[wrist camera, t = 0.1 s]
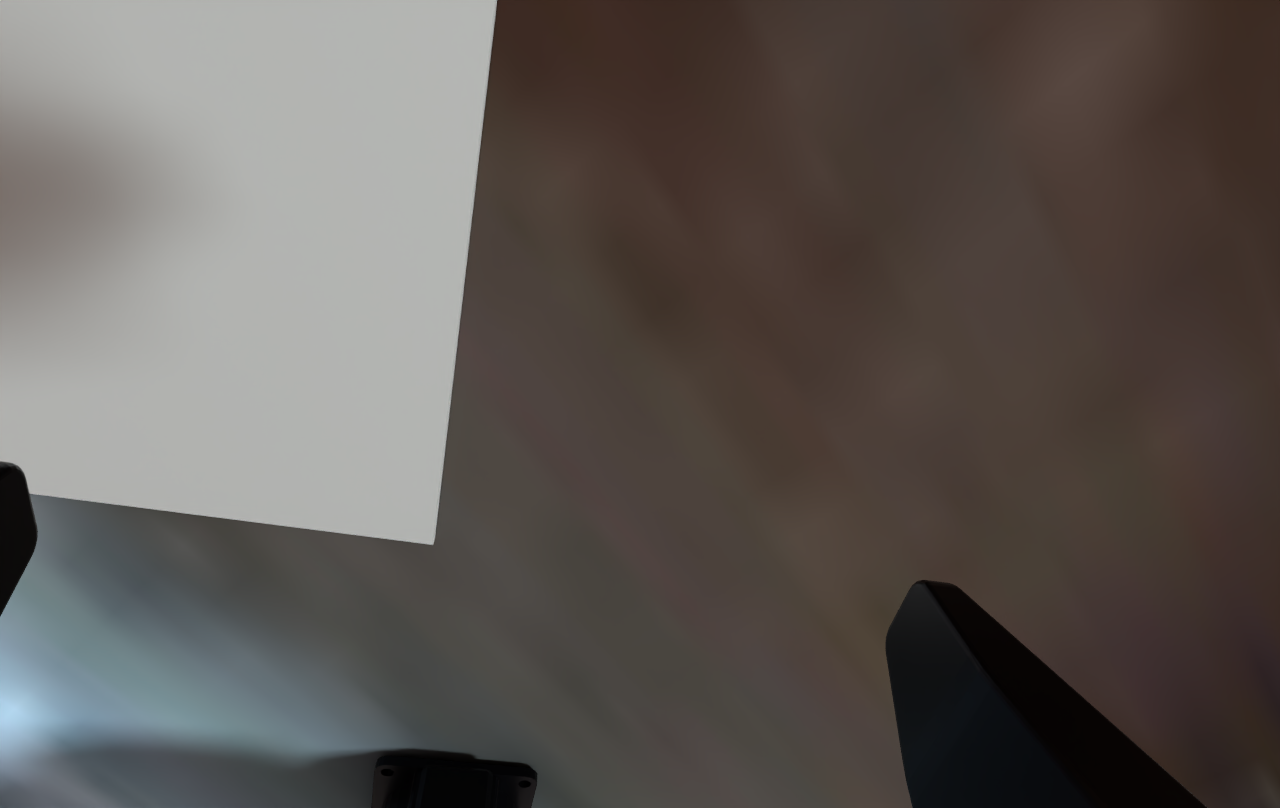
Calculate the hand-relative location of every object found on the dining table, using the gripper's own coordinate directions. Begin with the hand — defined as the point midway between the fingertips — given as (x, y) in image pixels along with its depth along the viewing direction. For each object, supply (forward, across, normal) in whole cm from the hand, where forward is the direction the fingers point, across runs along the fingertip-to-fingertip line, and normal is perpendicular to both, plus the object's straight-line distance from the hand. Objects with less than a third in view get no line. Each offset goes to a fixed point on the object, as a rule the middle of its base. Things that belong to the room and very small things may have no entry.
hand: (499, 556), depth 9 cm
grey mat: (+15, +11, +3) cm, 19 cm away
